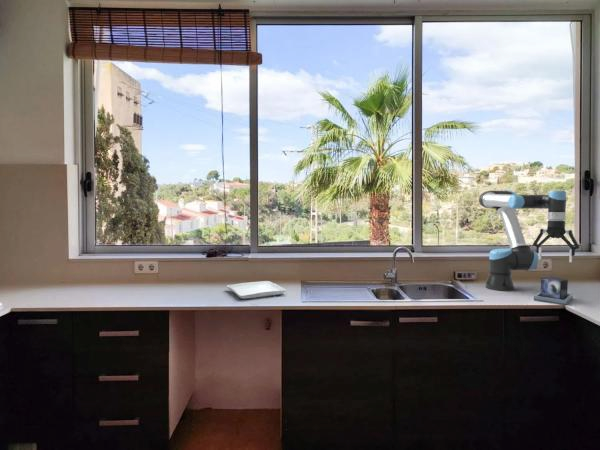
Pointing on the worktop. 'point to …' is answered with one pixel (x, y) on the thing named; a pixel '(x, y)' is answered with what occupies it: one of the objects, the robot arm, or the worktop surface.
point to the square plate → (256, 289)
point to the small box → (554, 287)
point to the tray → (552, 300)
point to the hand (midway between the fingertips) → (554, 260)
